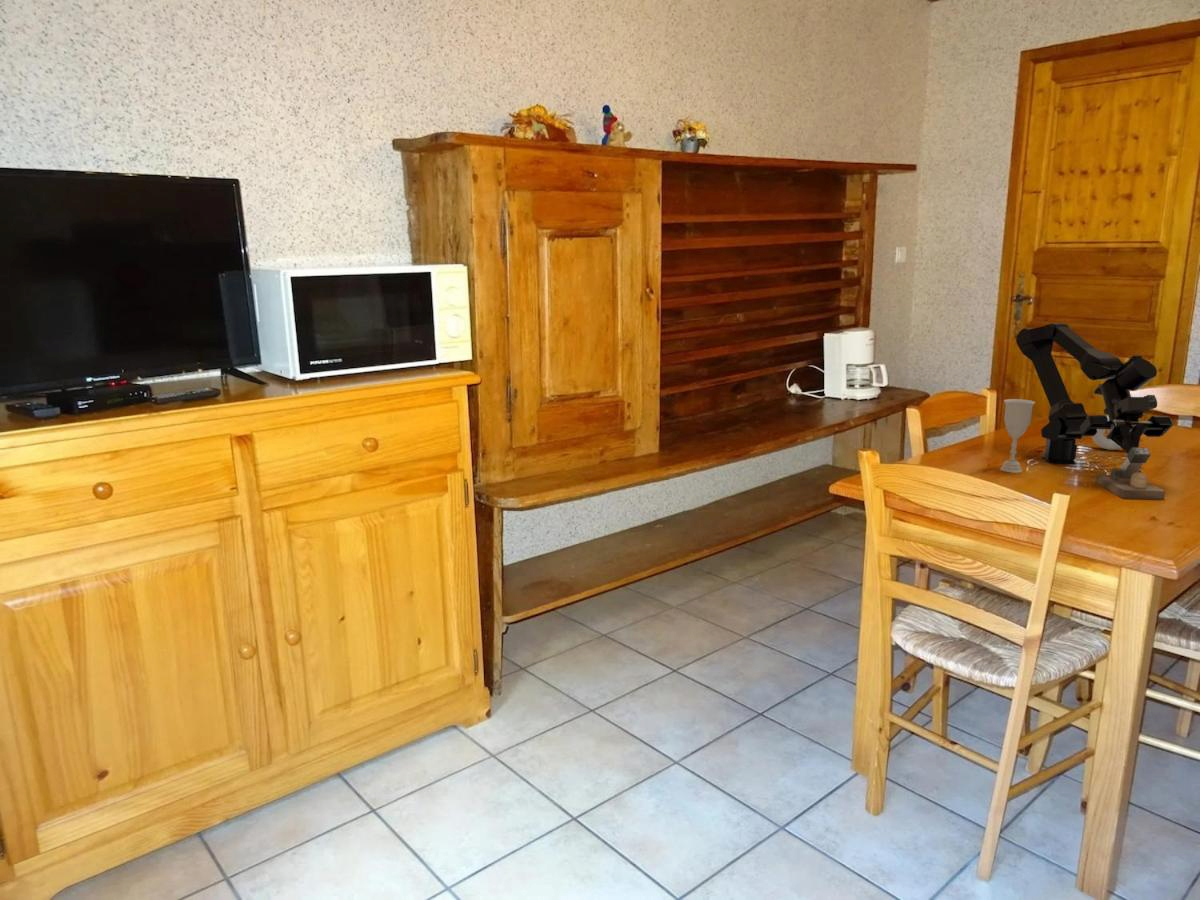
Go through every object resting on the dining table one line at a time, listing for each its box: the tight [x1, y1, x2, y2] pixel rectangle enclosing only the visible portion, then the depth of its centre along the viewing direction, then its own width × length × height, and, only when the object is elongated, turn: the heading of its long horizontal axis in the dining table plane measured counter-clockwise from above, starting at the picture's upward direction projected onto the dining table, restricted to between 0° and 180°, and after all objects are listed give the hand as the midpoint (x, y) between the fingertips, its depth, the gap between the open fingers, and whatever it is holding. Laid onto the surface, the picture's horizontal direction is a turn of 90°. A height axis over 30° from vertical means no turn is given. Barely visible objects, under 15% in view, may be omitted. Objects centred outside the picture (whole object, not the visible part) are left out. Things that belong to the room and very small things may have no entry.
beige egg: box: [1130, 471, 1148, 489], centre depth 193 cm, size 3×3×4 cm
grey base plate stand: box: [1095, 468, 1166, 501], centre depth 197 cm, size 13×9×4 cm
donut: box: [1091, 415, 1122, 451], centre depth 234 cm, size 10×4×10 cm, turn 59°
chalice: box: [999, 398, 1036, 474], centre depth 213 cm, size 7×7×18 cm
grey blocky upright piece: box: [1119, 446, 1152, 479], centre depth 196 cm, size 2×3×9 cm
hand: (1134, 456), depth 196 cm, fingers closed, pressing on grey blocky upright piece
